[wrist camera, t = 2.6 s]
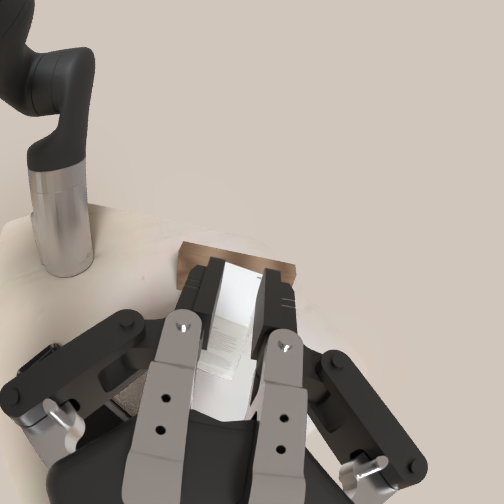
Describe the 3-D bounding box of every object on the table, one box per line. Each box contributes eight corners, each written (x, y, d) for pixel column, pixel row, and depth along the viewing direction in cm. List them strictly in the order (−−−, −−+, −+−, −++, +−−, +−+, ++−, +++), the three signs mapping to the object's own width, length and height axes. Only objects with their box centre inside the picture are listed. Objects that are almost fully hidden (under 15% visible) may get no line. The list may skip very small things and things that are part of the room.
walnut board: (176, 289, 39) (178, 250, 35) (181, 279, 41) (183, 241, 37) (282, 310, 40) (296, 275, 36) (281, 300, 42) (295, 264, 38)
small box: (211, 320, 36) (221, 258, 30) (250, 335, 35) (270, 274, 29) (186, 365, 29) (189, 304, 23) (231, 383, 28) (249, 326, 23)
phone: (55, 340, 25) (140, 423, 21) (57, 345, 26) (141, 426, 22) (13, 374, 19) (93, 472, 15) (17, 379, 20) (96, 473, 15)
